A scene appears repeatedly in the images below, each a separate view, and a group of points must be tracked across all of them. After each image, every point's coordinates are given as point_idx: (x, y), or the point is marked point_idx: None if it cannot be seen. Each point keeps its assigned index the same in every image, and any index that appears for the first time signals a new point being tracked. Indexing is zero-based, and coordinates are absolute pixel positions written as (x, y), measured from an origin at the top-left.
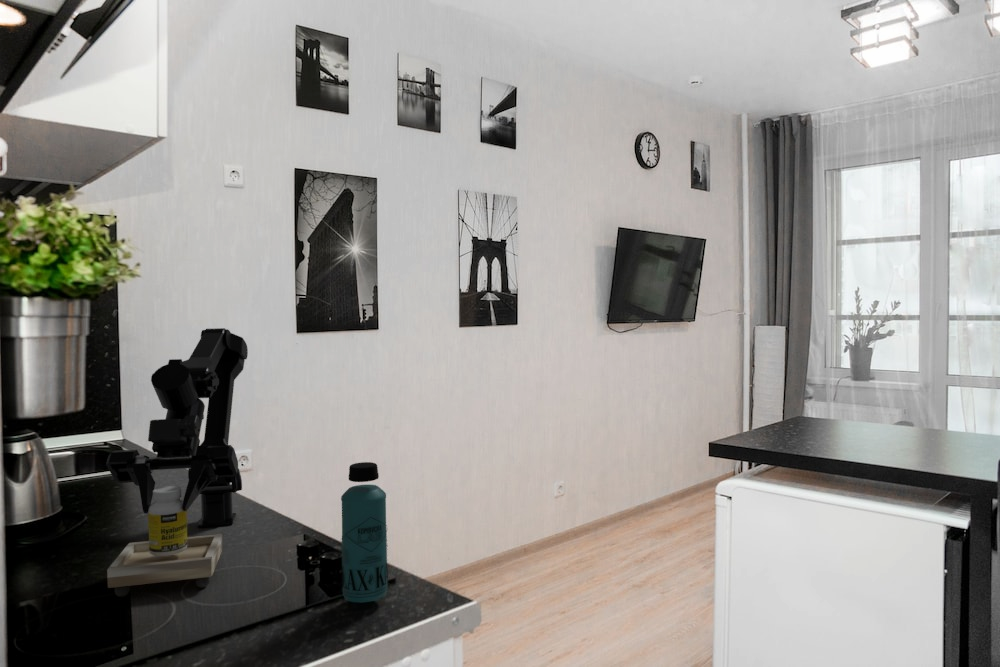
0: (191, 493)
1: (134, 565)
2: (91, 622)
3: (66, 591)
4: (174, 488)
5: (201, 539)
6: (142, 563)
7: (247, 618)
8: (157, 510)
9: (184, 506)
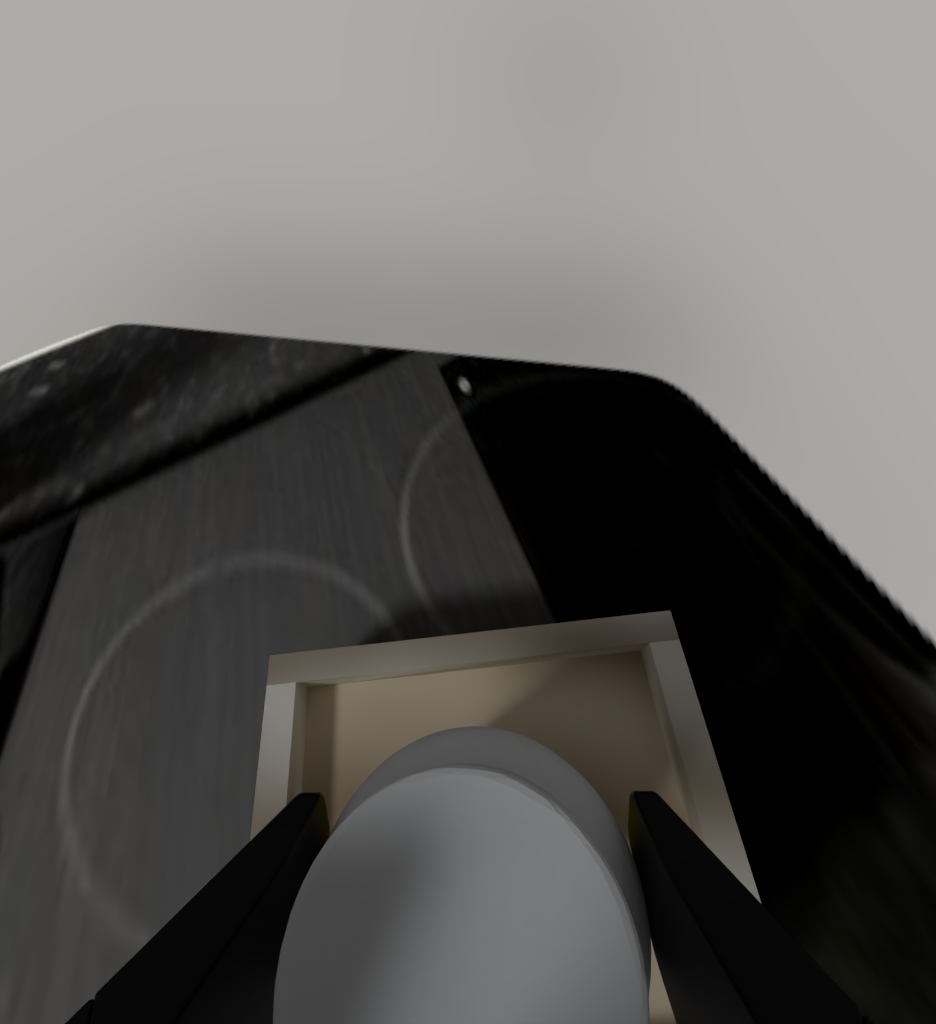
0: (179, 918)
1: (573, 638)
2: (605, 507)
3: (880, 789)
4: (355, 989)
5: None
6: (592, 778)
7: (222, 470)
8: (511, 736)
9: (301, 797)
